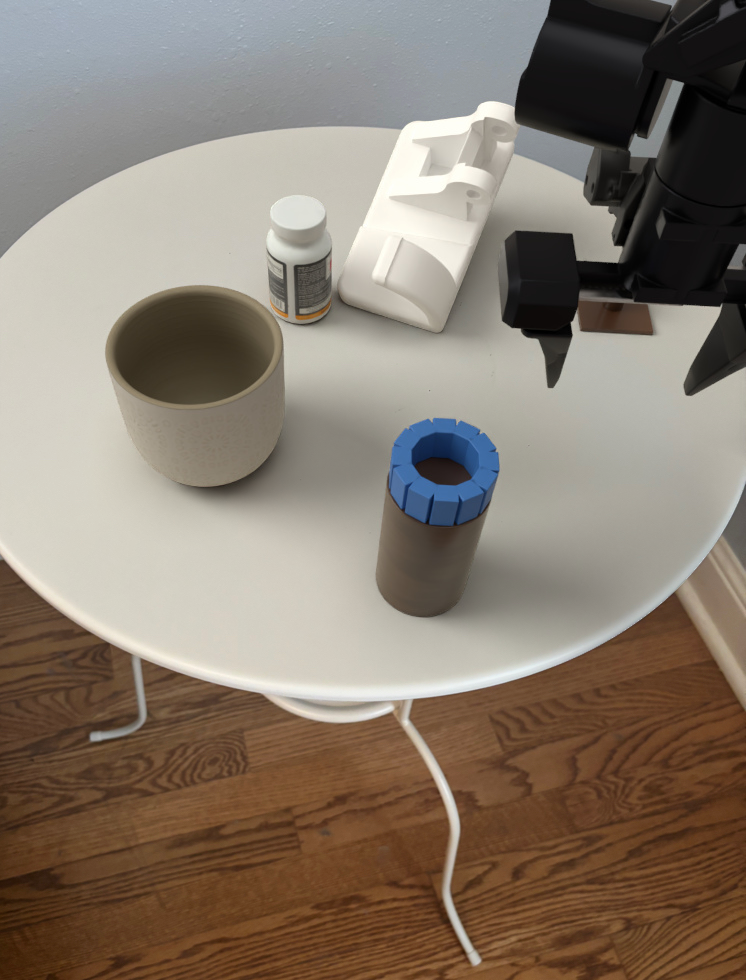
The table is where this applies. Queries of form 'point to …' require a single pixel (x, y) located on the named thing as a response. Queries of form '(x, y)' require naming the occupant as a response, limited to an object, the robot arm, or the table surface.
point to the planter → (199, 382)
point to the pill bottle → (299, 259)
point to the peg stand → (614, 317)
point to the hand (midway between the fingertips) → (618, 387)
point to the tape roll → (443, 442)
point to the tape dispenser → (429, 216)
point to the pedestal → (426, 550)
